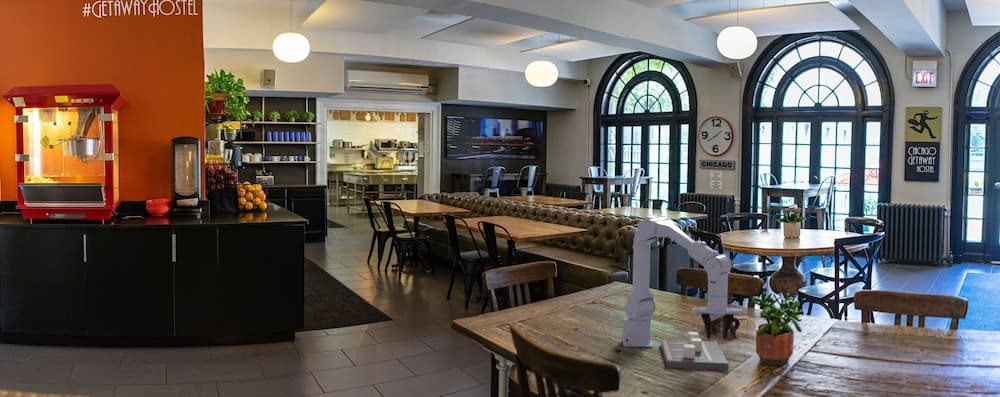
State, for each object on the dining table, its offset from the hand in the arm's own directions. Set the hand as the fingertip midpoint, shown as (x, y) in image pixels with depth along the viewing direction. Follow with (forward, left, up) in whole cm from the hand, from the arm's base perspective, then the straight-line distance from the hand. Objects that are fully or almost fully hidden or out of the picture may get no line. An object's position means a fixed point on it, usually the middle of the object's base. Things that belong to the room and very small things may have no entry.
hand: (716, 338), depth 215 cm
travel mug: (+8, +48, -9) cm, 49 cm away
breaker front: (-8, 0, -6) cm, 10 cm away
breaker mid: (-5, +7, -6) cm, 11 cm away
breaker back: (-5, +14, -6) cm, 16 cm away
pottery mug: (+8, +32, -9) cm, 35 cm away
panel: (-6, +7, -8) cm, 12 cm away
